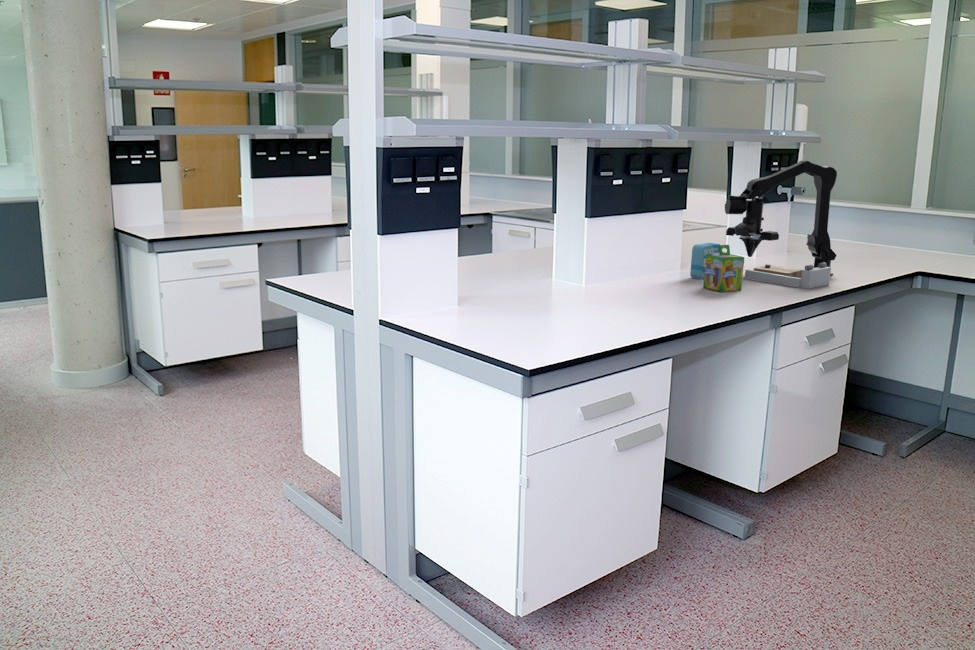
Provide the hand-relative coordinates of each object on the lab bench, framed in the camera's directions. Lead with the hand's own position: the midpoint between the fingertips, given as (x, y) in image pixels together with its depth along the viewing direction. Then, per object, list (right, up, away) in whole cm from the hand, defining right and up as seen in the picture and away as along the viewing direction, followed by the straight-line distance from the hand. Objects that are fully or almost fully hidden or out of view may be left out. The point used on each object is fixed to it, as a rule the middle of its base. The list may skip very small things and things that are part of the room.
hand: (749, 256), depth 294 cm
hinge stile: (+16, -12, -19) cm, 28 cm away
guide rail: (+3, -10, -15) cm, 18 cm away
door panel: (+7, -9, -7) cm, 14 cm away
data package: (-19, -8, -7) cm, 22 cm away
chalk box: (-19, -14, -28) cm, 37 cm away
